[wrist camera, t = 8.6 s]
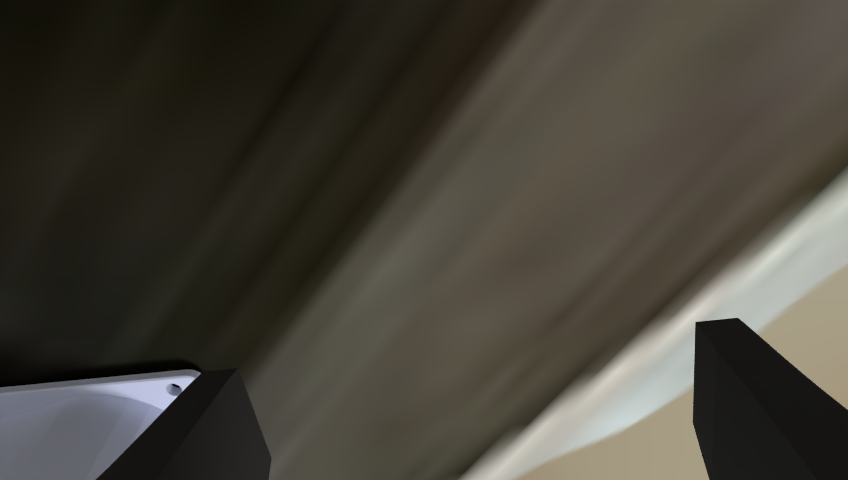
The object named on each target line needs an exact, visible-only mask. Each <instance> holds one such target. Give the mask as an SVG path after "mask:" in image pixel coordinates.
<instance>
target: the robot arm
mask: <svg viewBox="0 0 848 480" xmlns="http://www.w3.org/2000/svg"><path fill="white" fill-rule="evenodd" d="M172 384H176V385H178V386H180V387H181V388H178V387H175V386H173V385H172ZM693 404H694V405H693V425H694V428H695V432H696V435H697V439H698V442H699V446H700V449H701V453H702V456H703V459H704V463H705V466H706V469H707V473H708V476H709V479H710V480H848V410H847V409H846V408H844V407H843V406H842V405H841V404H839V403H838V402H837V401H836V400H834V399H833V398H832V397H831V396H829V395H828V394H827V393H826V392H824V391H823V390H822V389H821V388H819V387H818V386H817V385H816V384H815V383H813V382H812V381H811V380H810V379H808V378H807V377H806V376H805V375H804V374H803V373H801V372H800V371H799V370H798V369H797V368H795V367H794V366H793V365H792V364H791V363H790V362H788V361H787V360H786V359H785V358H784V357H782V356H781V355H780V354H779V353H778V352H777V351H776V350H774V349H773V348H772V347H771V346H770V345H769V344H768V343H767V342H765V341H764V340H763V339H762V338H761V337H760V336H759V335H757V334H756V333H755V332H754V331H753V330H752V329H750V328H749V327H748V326H747V325H746V324H745V323H743V322H742V321H741V320H740V319H738V318H732V319H722V320H712V321H702V322H696V328H695V365H694V402H693ZM270 465H271V456H270V453H269V450H268V448H267V445H266V442H265V440H264V437H263V434H262V431H261V429H260V426H259V423H258V421H257V418H256V415H255V412H254V410H253V407H252V404H251V402H250V399H249V396H248V393H247V391H246V388H245V385H244V383H243V380H242V377H241V374H240V372H239V369H238V368H235V369H225V370H215V371H205V372H202V373H200V372H198V371H195V370H189V369H186V370H176V371H166V372H155V373H145V374H135V375H124V376H114V377H103V378H93V379H83V380H72V381H62V382H52V383H41V384H31V385H21V386H10V387H0V480H268V479H269V472H270Z"/></svg>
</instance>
